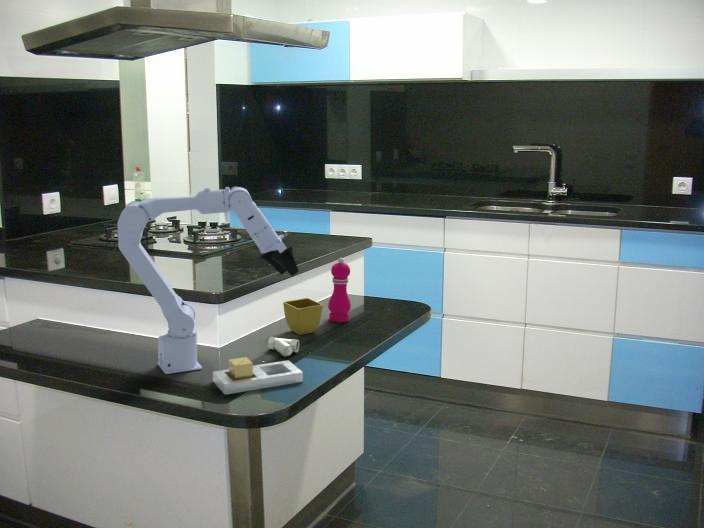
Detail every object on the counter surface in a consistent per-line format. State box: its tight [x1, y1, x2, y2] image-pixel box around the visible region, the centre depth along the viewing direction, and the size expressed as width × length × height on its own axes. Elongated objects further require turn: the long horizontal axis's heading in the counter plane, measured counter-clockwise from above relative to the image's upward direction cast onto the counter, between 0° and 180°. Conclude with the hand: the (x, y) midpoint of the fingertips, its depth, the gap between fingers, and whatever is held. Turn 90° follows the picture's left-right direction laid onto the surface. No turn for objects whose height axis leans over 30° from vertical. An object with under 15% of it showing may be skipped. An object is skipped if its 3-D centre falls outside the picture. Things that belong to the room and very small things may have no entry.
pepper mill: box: [327, 257, 352, 323], centre depth 229 cm, size 7×7×20 cm
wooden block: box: [228, 356, 254, 381], centre depth 176 cm, size 4×4×6 cm
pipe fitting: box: [267, 336, 300, 357], centre depth 199 cm, size 8×4×7 cm
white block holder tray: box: [212, 360, 304, 395], centre depth 178 cm, size 20×9×2 cm, turn 118°
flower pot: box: [282, 297, 324, 336], centre depth 216 cm, size 9×9×9 cm
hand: (289, 272), depth 186 cm, fingers open, 7 cm apart
